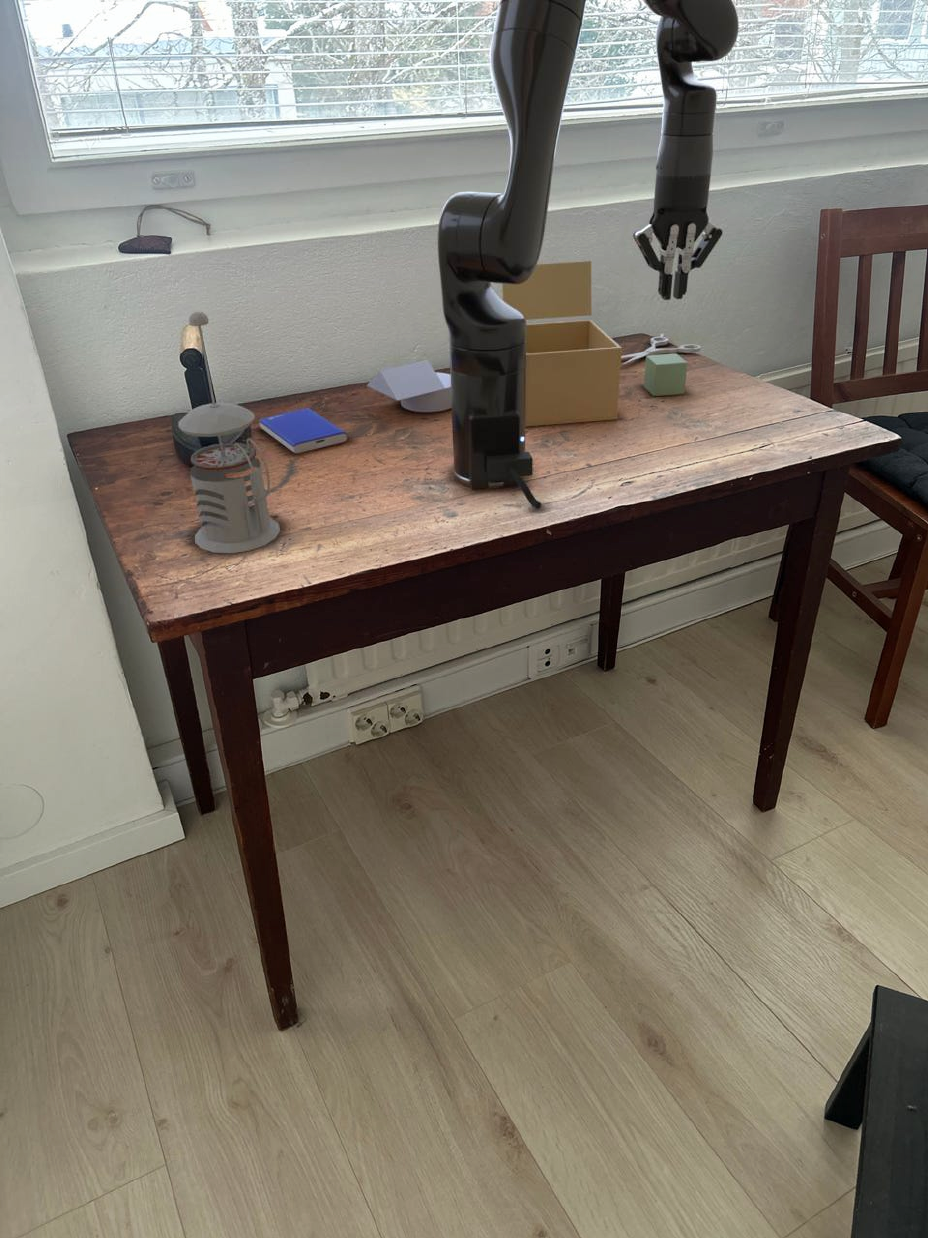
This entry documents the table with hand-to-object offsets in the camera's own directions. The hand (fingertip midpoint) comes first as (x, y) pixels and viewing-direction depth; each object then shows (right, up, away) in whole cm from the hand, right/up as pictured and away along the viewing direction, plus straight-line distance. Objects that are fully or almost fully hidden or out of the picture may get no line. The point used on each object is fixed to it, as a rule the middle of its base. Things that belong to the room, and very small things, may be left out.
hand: (671, 297), depth 135 cm
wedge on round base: (-38, -15, +5) cm, 42 cm away
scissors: (+2, -2, +24) cm, 24 cm away
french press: (-57, -39, -31) cm, 76 cm away
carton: (-17, -15, +3) cm, 23 cm away
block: (0, -12, +7) cm, 14 cm away
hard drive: (-55, -22, -5) cm, 59 cm away
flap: (-19, +2, +2) cm, 19 cm away
